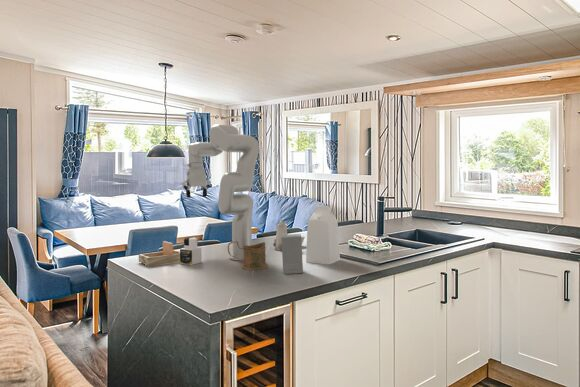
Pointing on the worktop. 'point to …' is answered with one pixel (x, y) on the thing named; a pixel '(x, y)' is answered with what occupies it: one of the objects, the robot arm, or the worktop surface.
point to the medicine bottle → (190, 252)
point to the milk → (322, 237)
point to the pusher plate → (167, 248)
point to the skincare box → (292, 254)
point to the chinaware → (281, 231)
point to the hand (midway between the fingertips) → (196, 197)
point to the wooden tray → (159, 258)
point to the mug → (253, 256)
